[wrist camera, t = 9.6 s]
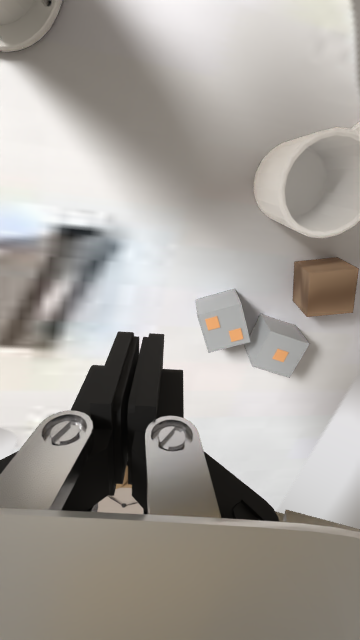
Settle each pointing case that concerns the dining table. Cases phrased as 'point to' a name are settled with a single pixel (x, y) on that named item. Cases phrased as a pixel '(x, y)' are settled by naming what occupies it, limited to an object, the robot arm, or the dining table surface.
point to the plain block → (324, 286)
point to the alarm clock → (121, 500)
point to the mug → (313, 182)
